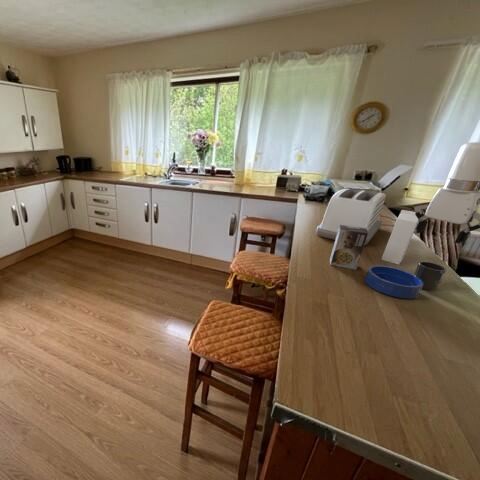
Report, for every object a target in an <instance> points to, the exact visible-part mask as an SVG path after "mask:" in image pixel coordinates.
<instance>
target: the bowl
mask: <svg viewBox="0 0 480 480" xmlns="http://www.w3.org/2000/svg"><path fill="white" fill-rule="evenodd" d="M413 274H414V273H411V272H409V271H406V270H403V269H400V268H397V267H392V266H388V265H372V266H369V267H368V269H367V271H366V274H365V276H364V283H366V284H367V286H369V287H370V288H372V289H373V290H376V291H377V292H380V293H382V294H385V295H388V296H390V297H395V298H399V299H410V300H411V299H416V298H418V297H419V295H420V293H421V291H422V290H423V289H422V287H423V284H424V283H423V281H422V280H421V279H420V278H418V277H417V276H415V275H413Z"/></svg>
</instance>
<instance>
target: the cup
mask: <svg viewBox="0 0 480 480" xmlns="http://www.w3.org/2000/svg"><path fill="white" fill-rule="evenodd" d="M446 271H447V268H446V267H445V266H442V265H440V264H438V263H435V262H430V261H419V262H418V263H417V265H416V267H415V270H414V271H413V273H412V274H413V275H415V276H417V277H418V278H420V279H421V280H422V281H423V283H424V284H423V287H422V289H421V290H425V291H429V292H431V291H432V292H433V291H437V289H438V287H439V285H440V283H441V281H442V280H443V277H444V275H445V274H446Z"/></svg>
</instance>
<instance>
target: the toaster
mask: <svg viewBox="0 0 480 480" xmlns="http://www.w3.org/2000/svg"><path fill="white" fill-rule="evenodd" d="M386 196H387V194H386V193H385V192H373V191H367V190H363V189H362V190H359V189H358V190H357V189H352V188H342V189H340V190H338V191H336V192H335V193H334V194H333V195H332V196H331V198H330V200H329V202H328V204H327V207H326V209H325V213H324V215H323V217H322V222H321V223H319V225H317V227H316V229H315V233H316V235H317V236H319V237H321V238H325V239H329V240H333V241H335V240H336V236H337V233H338V229H339V226H340V225H345V226H353V227H360V228H366V229H367V232H368V236H367V239H366V242H365V245H364V246H366V245H368V244H369V242H370V241H371V240H372V239H373V238H374V236H375V235H376V233H377V232H378V230H380V228H381V227H382V222H383V221H381V219H380V216H381V214H382V211H383V207H384V204H385V200H386Z"/></svg>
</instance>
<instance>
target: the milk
mask: <svg viewBox="0 0 480 480" xmlns="http://www.w3.org/2000/svg"><path fill="white" fill-rule="evenodd" d="M418 223H419V221H418V218H417V217H416V215H415V211H410V210H406V209H402V210H400V212H399V215H398V217H397V218H396V221H395V223H394V226H393V227H392V230H391V234H390V236H389V238H388V241H387V244H386V246H385V249H384V251H383V254H382V256H381V258H380V260H382V261H385V262H388V263H392V264H395V265H400V264H401V262H402V261H403V259H404V257H405V255H406V252H407V250H408V247H409V244H410V242H411V241H412V238H413V236H414V234H415V231H416V228H417V226H418Z"/></svg>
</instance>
